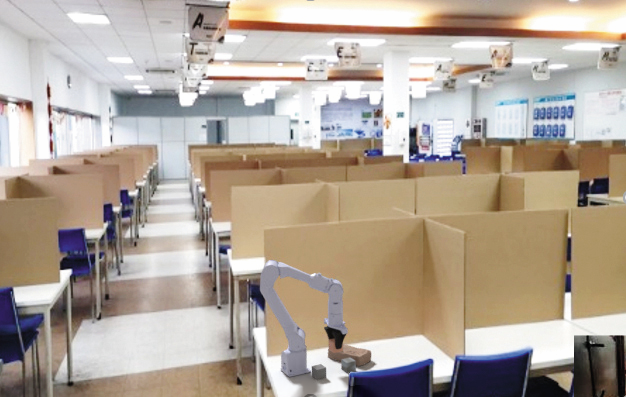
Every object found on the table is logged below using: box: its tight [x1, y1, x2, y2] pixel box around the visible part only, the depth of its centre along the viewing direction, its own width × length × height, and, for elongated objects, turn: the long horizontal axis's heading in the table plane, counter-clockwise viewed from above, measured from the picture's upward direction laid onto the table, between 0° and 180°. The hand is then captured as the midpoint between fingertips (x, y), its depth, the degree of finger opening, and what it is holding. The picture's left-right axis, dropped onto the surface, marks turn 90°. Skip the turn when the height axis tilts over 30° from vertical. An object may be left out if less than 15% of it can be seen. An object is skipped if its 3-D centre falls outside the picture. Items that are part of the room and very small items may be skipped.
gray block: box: [311, 363, 327, 381], centre depth 209 cm, size 4×4×4 cm
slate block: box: [340, 358, 357, 374], centre depth 215 cm, size 4×4×4 cm
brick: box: [327, 343, 372, 367], centre depth 226 cm, size 17×8×5 cm, turn 52°
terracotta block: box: [328, 339, 344, 353], centre depth 214 cm, size 4×4×4 cm
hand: (335, 346), depth 214 cm, fingers closed on terracotta block, 4 cm apart
